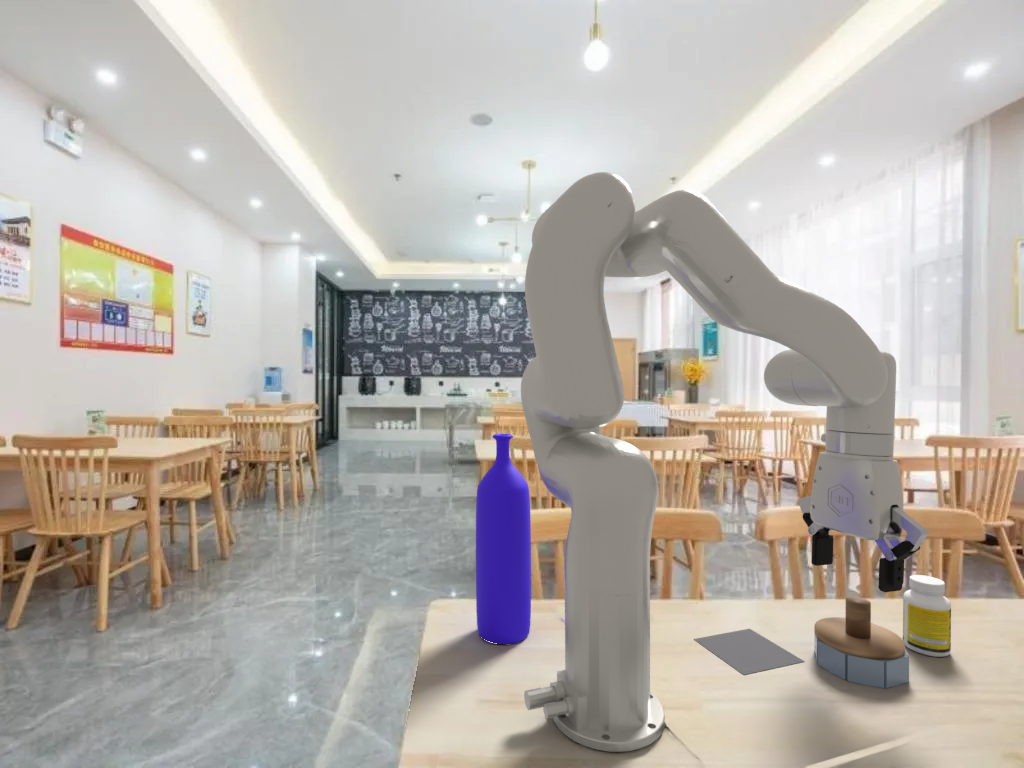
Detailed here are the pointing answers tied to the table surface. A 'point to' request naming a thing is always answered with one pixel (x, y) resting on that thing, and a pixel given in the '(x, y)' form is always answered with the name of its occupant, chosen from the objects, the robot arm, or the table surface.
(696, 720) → the table surface
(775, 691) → the table surface
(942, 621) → the supplement bottle
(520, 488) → the bottle
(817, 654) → the bowl
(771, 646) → the mat
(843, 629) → the lid
